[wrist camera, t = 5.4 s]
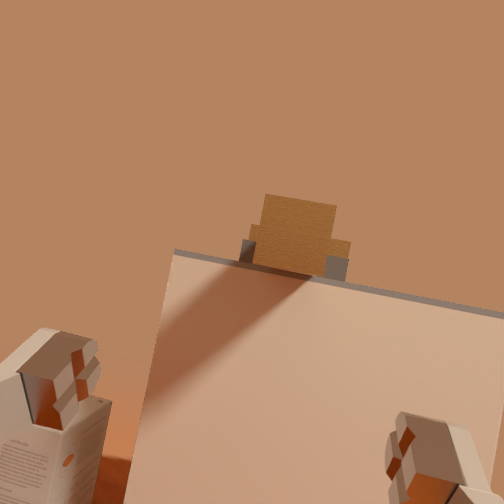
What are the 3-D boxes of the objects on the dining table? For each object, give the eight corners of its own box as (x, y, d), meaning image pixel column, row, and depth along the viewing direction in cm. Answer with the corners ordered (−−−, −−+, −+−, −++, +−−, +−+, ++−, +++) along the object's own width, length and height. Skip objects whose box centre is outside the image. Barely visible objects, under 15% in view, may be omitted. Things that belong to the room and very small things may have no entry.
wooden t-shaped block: (338, 281, 41) (345, 245, 41) (410, 293, 15) (428, 196, 15) (249, 263, 42) (255, 228, 42) (173, 247, 16) (191, 158, 16)
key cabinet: (377, 543, 40) (423, 283, 41) (443, 762, 22) (522, 291, 23) (179, 488, 43) (227, 246, 44) (95, 643, 25) (178, 227, 26)
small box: (43, 489, 38) (64, 386, 39) (92, 504, 37) (114, 399, 38) (-26, 544, 30) (1, 414, 31) (34, 566, 30) (62, 432, 30)
